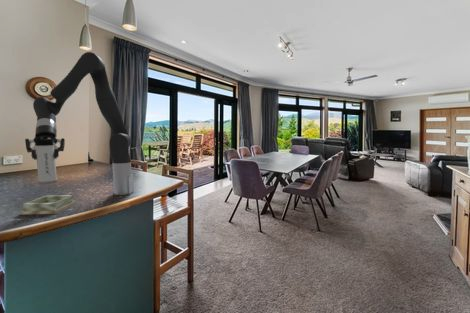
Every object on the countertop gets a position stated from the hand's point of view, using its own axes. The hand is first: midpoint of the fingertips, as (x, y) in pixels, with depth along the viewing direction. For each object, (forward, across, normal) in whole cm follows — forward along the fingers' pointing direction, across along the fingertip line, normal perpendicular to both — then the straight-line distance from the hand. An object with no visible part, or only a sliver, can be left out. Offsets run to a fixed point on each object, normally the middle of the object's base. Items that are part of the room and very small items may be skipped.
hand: (45, 157), depth 98 cm
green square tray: (+15, 0, +17) cm, 23 cm away
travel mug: (+7, 0, +9) cm, 12 cm away
